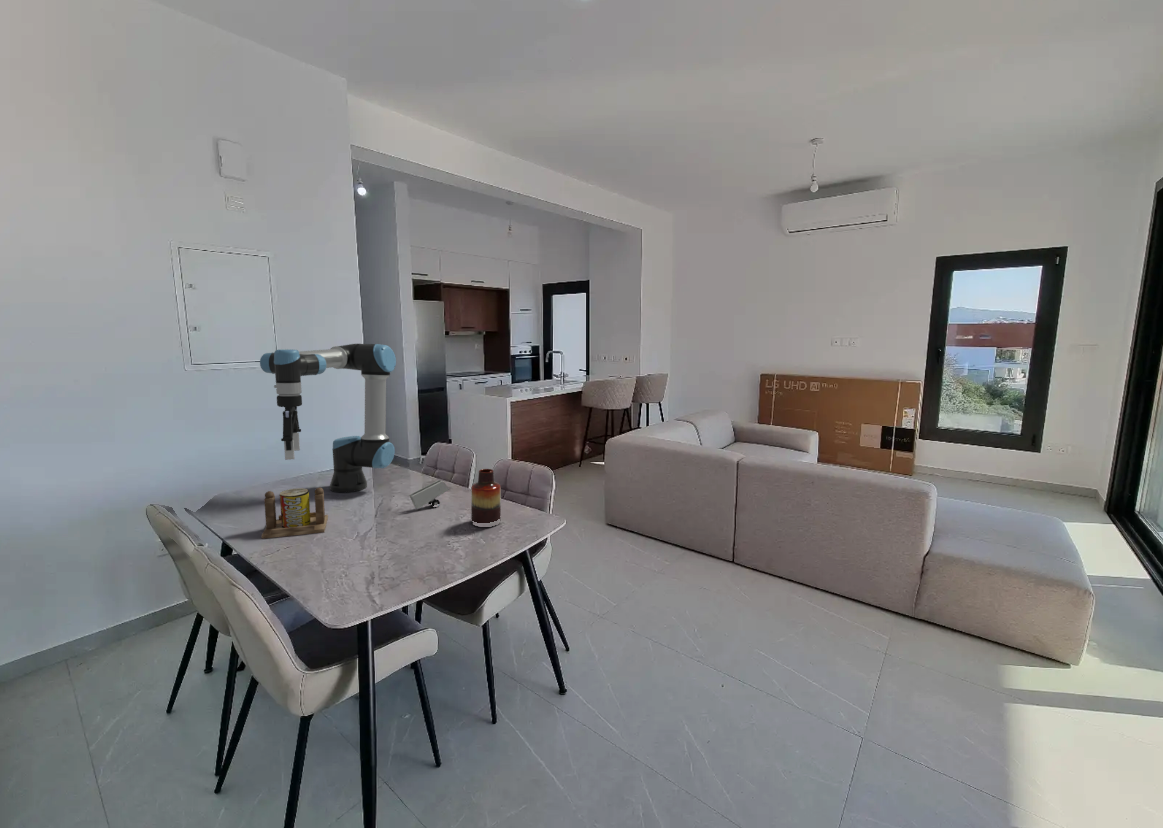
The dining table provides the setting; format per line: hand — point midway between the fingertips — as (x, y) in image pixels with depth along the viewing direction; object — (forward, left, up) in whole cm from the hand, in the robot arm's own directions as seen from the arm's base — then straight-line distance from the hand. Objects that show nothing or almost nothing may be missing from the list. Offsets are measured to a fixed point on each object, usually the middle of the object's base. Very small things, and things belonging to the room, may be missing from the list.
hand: (292, 454), depth 179 cm
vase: (-65, +15, -27) cm, 72 cm away
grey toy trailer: (-41, -6, -25) cm, 48 cm away
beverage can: (0, 0, -26) cm, 26 cm away
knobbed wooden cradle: (0, 0, -27) cm, 27 cm away
